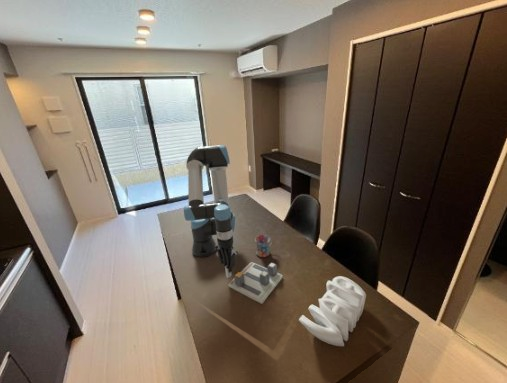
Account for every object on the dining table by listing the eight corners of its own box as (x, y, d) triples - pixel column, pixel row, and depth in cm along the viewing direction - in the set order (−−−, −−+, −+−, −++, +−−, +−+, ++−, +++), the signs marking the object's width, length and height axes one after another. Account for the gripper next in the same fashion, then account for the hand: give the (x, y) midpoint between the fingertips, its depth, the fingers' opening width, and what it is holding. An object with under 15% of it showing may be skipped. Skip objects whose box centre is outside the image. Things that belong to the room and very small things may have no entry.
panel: (228, 286, 115) (227, 274, 112) (251, 264, 130) (250, 253, 127) (261, 304, 104) (261, 291, 101) (282, 277, 119) (282, 266, 116)
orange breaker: (234, 284, 113) (233, 275, 111) (239, 279, 116) (238, 270, 114) (240, 286, 111) (239, 277, 109) (244, 282, 114) (244, 273, 112)
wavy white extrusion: (332, 364, 79) (335, 343, 75) (294, 333, 90) (294, 313, 86) (371, 304, 101) (375, 286, 97) (336, 285, 112) (338, 268, 109)
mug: (259, 260, 133) (259, 245, 129) (252, 252, 141) (252, 237, 137) (277, 254, 138) (277, 239, 134) (269, 246, 146) (269, 232, 142)
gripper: (209, 236, 109) (214, 275, 117) (230, 244, 102) (233, 285, 110) (220, 229, 115) (224, 267, 123) (240, 236, 108) (243, 276, 116)
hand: (228, 276), depth 117 cm, fingers closed
